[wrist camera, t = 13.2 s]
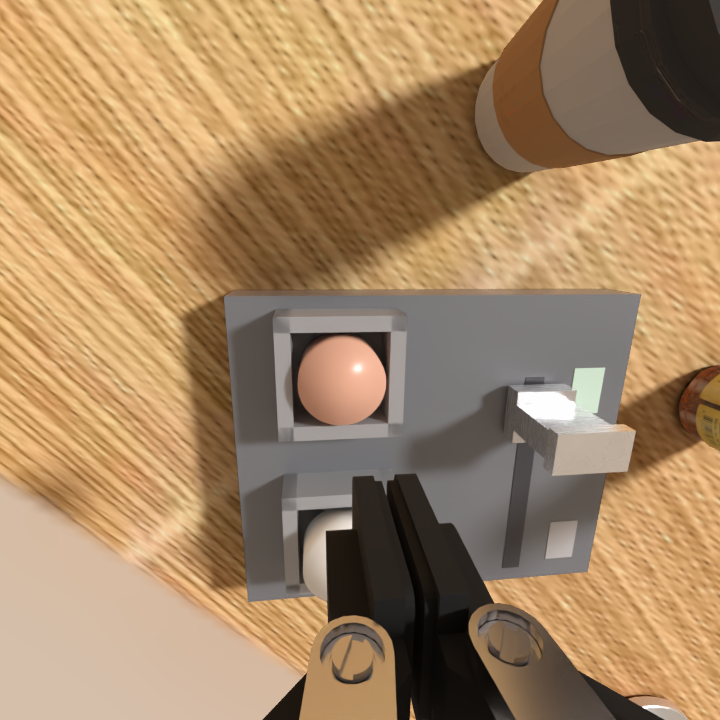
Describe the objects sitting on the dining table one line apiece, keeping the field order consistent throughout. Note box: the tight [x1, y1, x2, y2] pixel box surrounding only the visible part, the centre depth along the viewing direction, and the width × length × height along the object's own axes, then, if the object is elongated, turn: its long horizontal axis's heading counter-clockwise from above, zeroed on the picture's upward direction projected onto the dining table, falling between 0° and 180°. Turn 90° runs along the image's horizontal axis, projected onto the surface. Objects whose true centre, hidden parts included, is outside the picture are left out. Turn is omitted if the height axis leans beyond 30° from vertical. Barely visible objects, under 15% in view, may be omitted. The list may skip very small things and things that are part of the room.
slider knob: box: [503, 384, 636, 476], centre depth 23 cm, size 3×4×6 cm
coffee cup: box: [475, 0, 720, 173], centre depth 17 cm, size 8×8×15 cm
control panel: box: [224, 289, 641, 602], centre depth 26 cm, size 20×24×6 cm
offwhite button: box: [303, 507, 352, 601], centre depth 23 cm, size 4×4×2 cm
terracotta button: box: [298, 332, 386, 425], centre depth 21 cm, size 4×4×2 cm
